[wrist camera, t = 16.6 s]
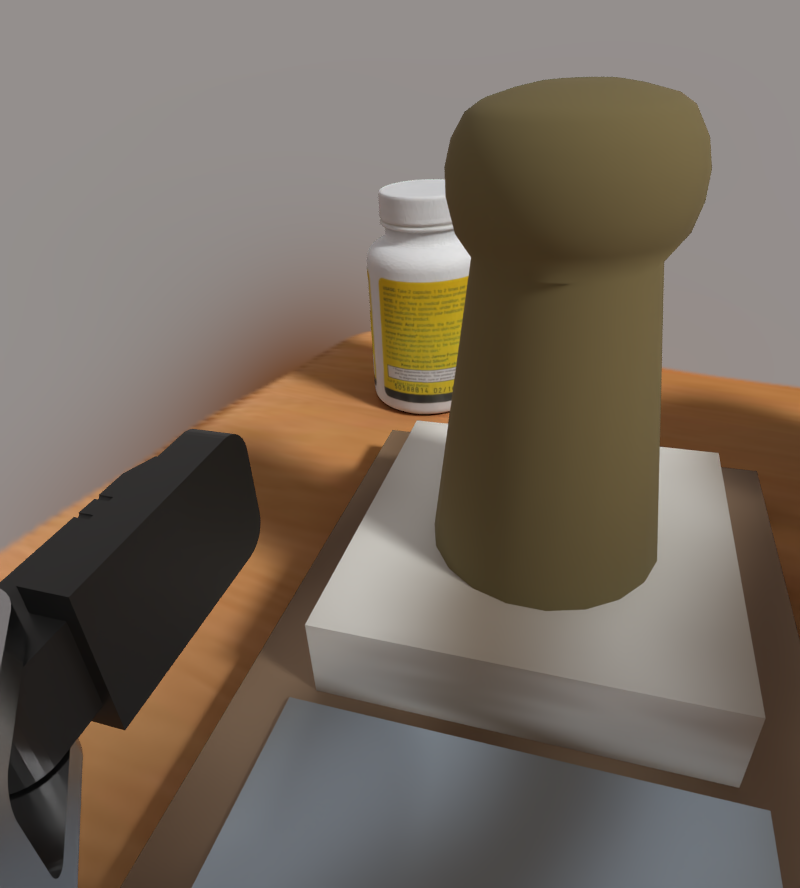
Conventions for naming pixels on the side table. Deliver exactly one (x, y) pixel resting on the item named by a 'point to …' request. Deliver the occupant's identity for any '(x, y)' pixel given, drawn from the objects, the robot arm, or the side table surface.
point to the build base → (507, 714)
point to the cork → (563, 334)
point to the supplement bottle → (416, 297)
